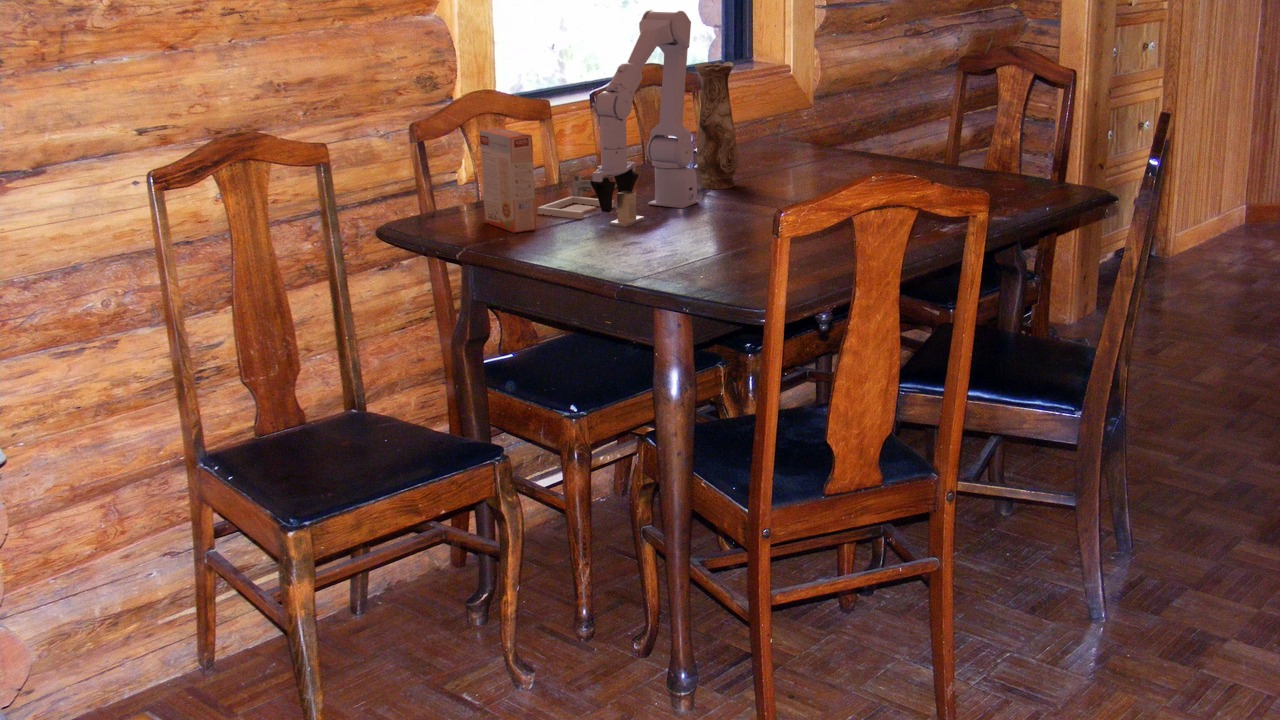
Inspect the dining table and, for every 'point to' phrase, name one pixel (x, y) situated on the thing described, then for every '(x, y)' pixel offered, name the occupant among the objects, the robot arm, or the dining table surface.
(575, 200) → the frame
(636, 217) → the scraper
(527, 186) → the cracker box
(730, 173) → the vase
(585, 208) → the tile
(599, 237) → the dining table surface
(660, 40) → the robot arm
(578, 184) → the caliper
